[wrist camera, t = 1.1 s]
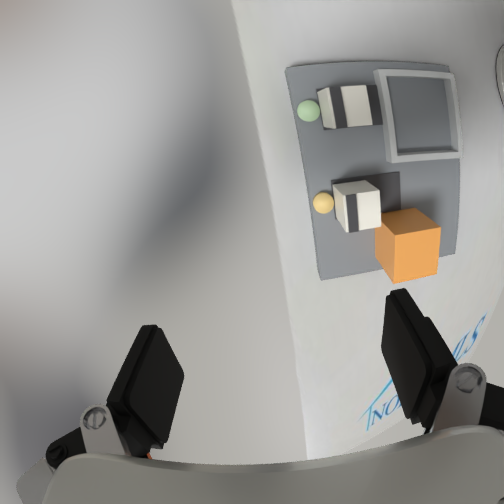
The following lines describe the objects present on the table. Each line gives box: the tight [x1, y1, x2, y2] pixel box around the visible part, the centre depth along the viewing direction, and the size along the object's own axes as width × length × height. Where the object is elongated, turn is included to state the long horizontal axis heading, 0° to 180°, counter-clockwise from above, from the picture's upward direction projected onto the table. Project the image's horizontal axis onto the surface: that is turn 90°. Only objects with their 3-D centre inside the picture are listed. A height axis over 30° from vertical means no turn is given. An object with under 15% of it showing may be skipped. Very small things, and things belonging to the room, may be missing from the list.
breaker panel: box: [285, 61, 463, 280], centre depth 23 cm, size 20×16×3 cm
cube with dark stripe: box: [333, 180, 381, 233], centre depth 22 cm, size 3×3×4 cm
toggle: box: [317, 85, 373, 129], centre depth 19 cm, size 3×3×4 cm
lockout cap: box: [375, 208, 441, 284], centre depth 23 cm, size 4×4×5 cm
